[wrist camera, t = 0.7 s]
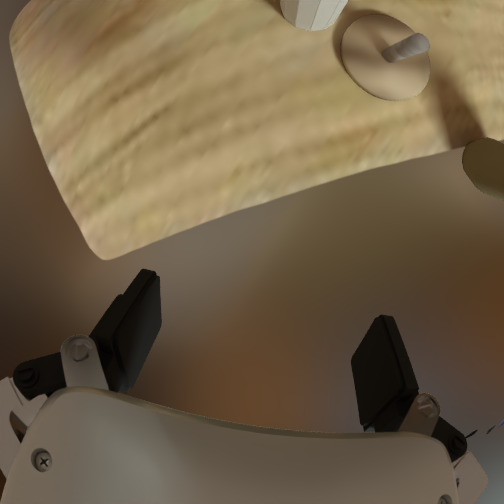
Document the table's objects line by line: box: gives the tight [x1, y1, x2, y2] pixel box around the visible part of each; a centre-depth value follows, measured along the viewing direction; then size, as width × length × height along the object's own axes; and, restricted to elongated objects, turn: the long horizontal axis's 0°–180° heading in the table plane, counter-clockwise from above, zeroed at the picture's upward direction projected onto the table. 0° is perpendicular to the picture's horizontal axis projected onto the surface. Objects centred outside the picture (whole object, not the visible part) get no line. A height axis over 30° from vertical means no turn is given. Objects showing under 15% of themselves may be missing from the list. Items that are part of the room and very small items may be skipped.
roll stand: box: [340, 14, 430, 101], centre depth 21 cm, size 12×12×10 cm
